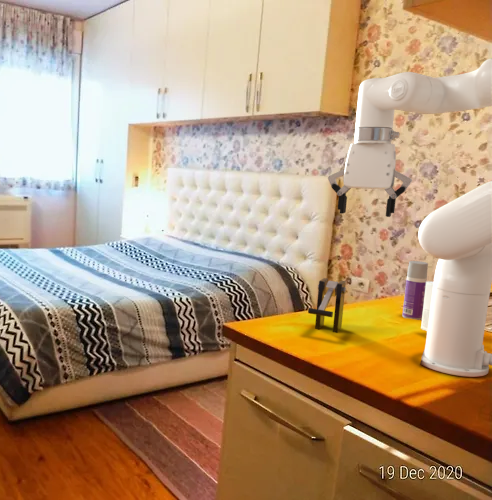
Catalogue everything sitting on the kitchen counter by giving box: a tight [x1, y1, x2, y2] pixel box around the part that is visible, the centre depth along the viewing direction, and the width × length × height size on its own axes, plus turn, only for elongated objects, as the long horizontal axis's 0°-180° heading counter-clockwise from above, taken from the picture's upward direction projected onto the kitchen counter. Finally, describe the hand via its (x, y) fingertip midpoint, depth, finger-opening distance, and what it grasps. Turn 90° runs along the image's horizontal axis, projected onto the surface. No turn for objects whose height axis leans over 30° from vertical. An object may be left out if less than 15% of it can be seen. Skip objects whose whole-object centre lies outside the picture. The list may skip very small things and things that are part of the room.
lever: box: [307, 280, 339, 318], centre depth 115 cm, size 12×5×2 cm, turn 148°
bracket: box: [314, 277, 347, 334], centre depth 119 cm, size 10×8×13 cm
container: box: [401, 260, 429, 321], centre depth 136 cm, size 5×5×15 cm
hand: (364, 214), depth 115 cm, fingers open, 9 cm apart
